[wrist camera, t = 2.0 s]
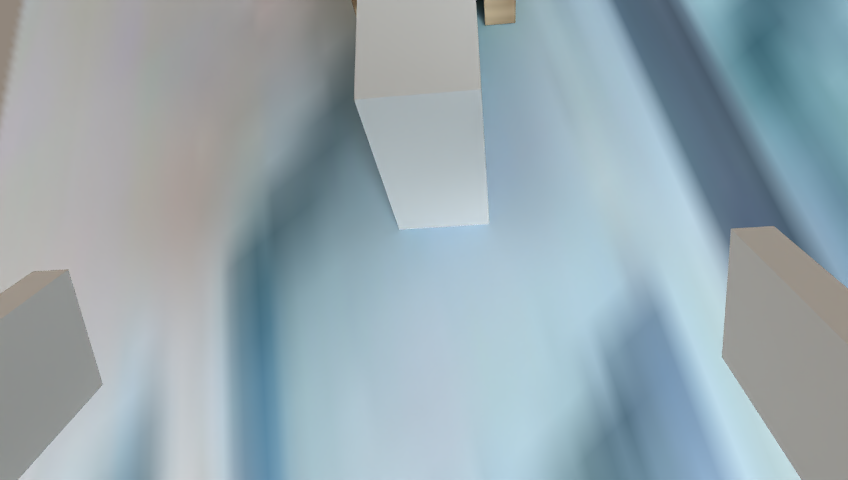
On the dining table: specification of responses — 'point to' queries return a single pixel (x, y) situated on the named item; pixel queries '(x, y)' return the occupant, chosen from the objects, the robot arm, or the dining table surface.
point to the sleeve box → (489, 11)
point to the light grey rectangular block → (424, 108)
